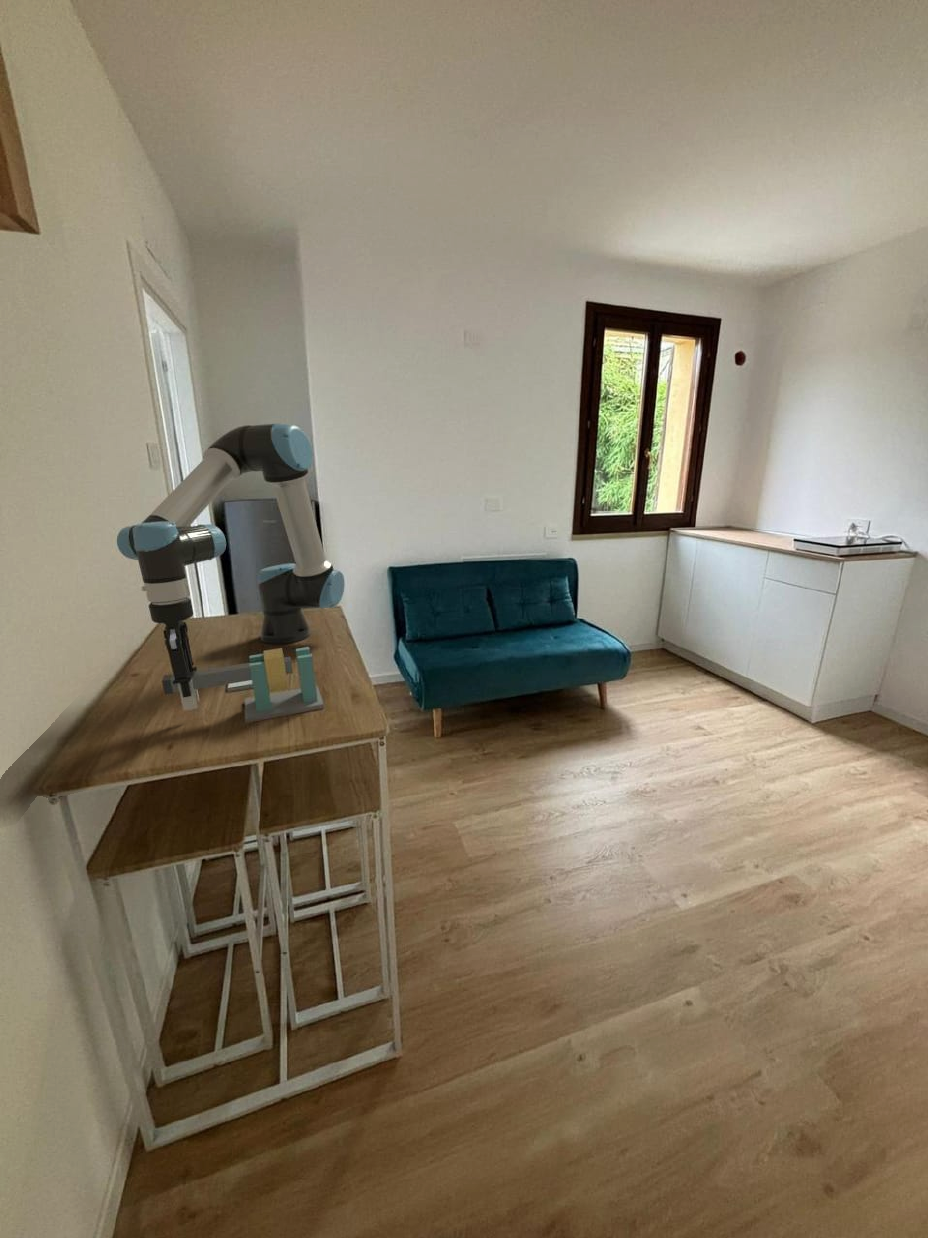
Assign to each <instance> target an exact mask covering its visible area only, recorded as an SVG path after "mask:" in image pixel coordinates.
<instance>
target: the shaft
mask: <svg viewBox="0 0 928 1238" xmlns="http://www.w3.org/2000/svg"><path fill="white" fill-rule="evenodd" d="M258 662H263V661H258ZM251 663H256V662H251ZM284 663H285V670H286V675H291V674H294V672H293V671H294V670H293V664H292V663H293V662H292V658H291V656H285V657H284ZM265 669H266V668H265ZM266 675H267V674H266ZM190 677H191V679H192V681H193V685H194V689H197V690H200V689H207V688H213V687H218V686H225V685H228V684H231V683H237V682H243V681H249V680H252V677H251V671H250V662H247V663H240V664H233V665H227V666H226V665H225V666H219V667H213V668H206V669H201V670H200V669H199V670H197V671H192V672H190ZM174 680H175V678H174V674H172V673H171V674H166V675H163V677H162V680H161V683H162V687H163V692H164V695H166V696H167V695H170V694H177V693H179V688H178V683H177V684H173V681H174Z"/></svg>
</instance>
